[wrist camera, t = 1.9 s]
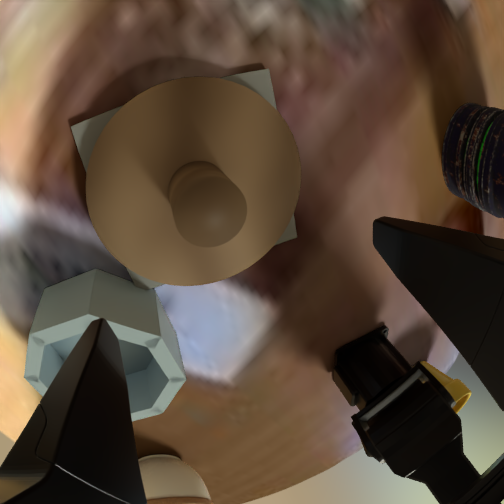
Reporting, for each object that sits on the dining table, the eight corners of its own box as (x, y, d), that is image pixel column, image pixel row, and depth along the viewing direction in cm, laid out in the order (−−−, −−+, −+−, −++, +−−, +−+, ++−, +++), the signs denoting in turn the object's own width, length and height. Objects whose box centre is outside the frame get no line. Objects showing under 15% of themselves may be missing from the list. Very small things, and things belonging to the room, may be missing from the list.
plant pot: (430, 341, 38) (472, 385, 30) (438, 362, 43) (472, 399, 35) (377, 390, 39) (413, 439, 31) (392, 403, 44) (423, 443, 36)
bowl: (138, 252, 18) (139, 295, 14) (189, 356, 23) (201, 401, 20) (14, 300, 16) (-4, 345, 13) (83, 388, 22) (82, 432, 18)
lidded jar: (101, 465, 29) (110, 529, 21) (151, 437, 28) (168, 514, 20) (163, 481, 35) (177, 535, 27) (215, 456, 34) (237, 517, 26)
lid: (275, 59, 15) (315, 52, 11) (304, 241, 21) (338, 275, 18) (60, 121, 13) (31, 132, 9) (134, 301, 19) (137, 350, 15)
